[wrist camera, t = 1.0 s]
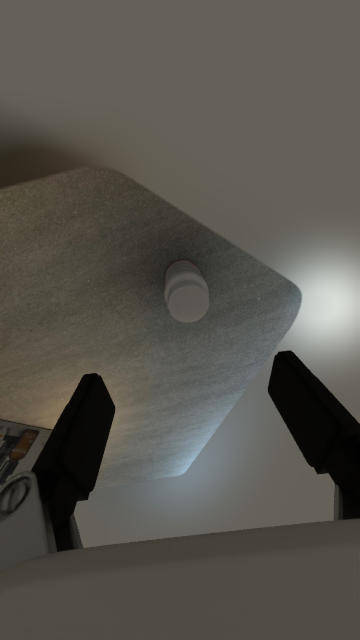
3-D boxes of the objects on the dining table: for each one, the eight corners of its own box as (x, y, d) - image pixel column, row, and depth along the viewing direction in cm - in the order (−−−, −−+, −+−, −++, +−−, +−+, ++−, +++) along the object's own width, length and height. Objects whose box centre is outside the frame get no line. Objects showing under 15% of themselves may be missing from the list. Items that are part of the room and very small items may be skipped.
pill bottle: (157, 273, 24) (152, 299, 16) (187, 251, 22) (196, 269, 15) (178, 300, 26) (182, 334, 19) (206, 281, 25) (222, 309, 17)
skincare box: (89, 435, 42) (51, 541, 29) (83, 446, 45) (45, 549, 31) (-18, 414, 36) (-131, 536, 22) (-18, 428, 38) (-121, 546, 25)
